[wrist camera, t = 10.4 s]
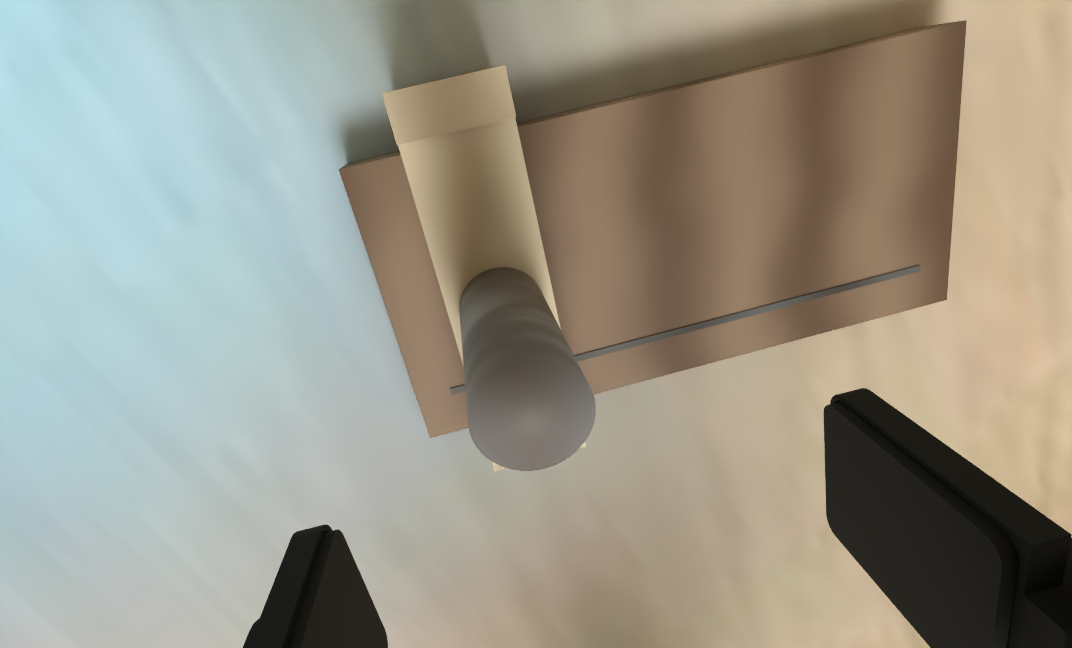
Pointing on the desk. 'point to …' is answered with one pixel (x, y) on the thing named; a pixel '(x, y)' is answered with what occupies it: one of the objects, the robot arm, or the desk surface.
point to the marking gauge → (492, 268)
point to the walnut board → (708, 215)
